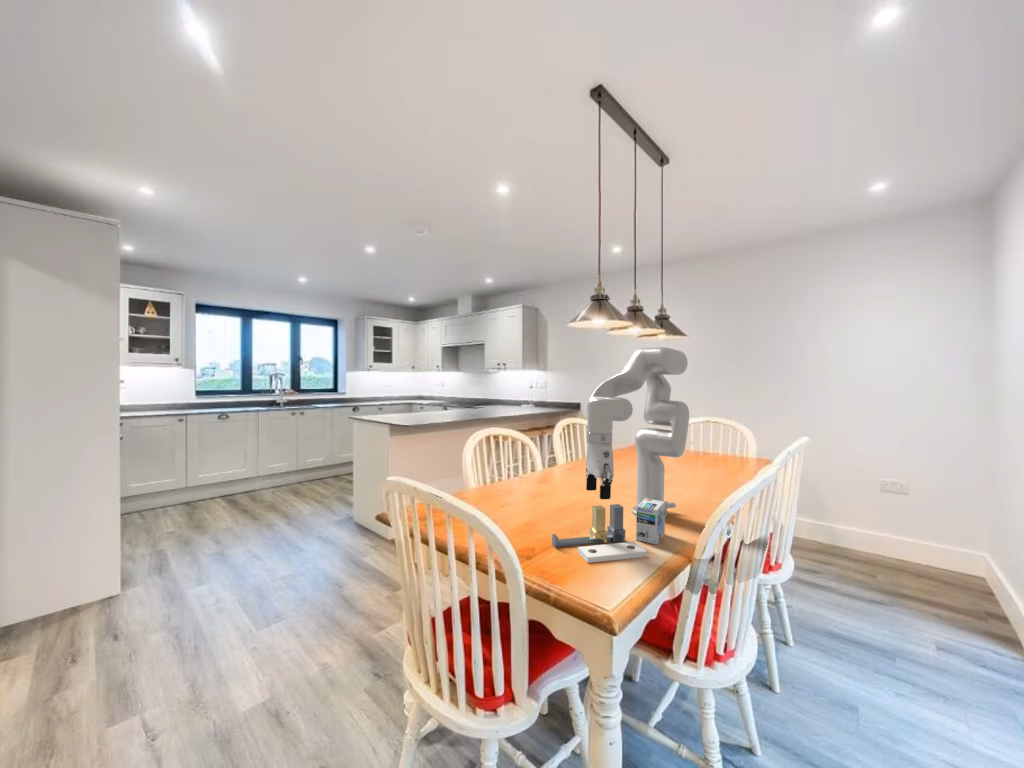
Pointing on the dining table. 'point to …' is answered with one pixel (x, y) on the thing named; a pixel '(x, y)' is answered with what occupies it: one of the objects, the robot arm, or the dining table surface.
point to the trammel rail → (613, 535)
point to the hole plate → (611, 552)
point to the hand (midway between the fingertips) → (597, 494)
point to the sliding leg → (598, 523)
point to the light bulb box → (650, 521)
